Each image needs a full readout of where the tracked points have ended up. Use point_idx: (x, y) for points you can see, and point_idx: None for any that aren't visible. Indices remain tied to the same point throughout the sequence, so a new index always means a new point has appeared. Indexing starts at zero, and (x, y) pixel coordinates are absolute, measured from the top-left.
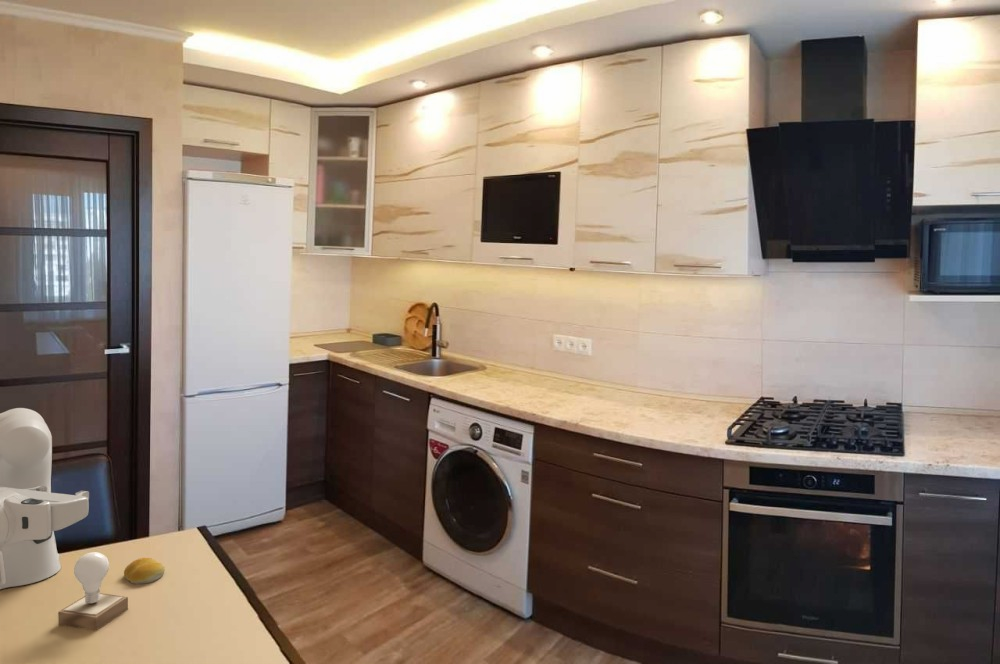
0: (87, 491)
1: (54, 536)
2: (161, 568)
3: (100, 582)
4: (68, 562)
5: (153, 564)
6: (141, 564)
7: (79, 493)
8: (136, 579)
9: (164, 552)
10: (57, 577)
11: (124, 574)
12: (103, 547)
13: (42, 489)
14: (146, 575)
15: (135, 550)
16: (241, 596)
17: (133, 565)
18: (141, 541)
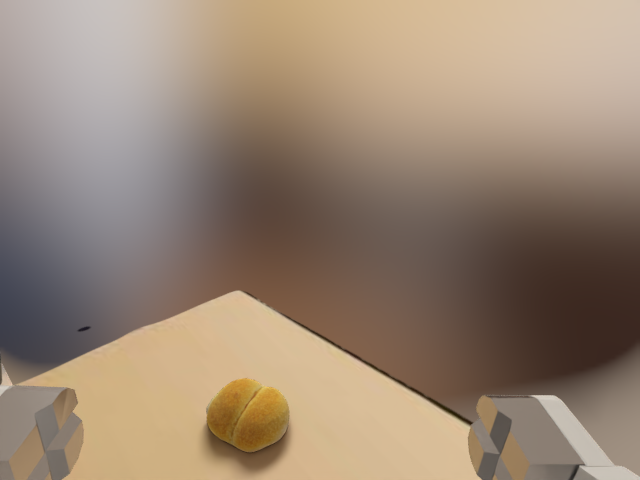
0: (562, 401)
1: (2, 365)
2: (286, 402)
3: None
4: None
5: (272, 399)
6: (245, 403)
7: (595, 470)
8: (256, 445)
9: (230, 346)
10: None
11: (214, 432)
12: (103, 349)
13: (40, 439)
14: (274, 431)
15: (172, 349)
16: None
17: (231, 410)
18: (166, 325)
